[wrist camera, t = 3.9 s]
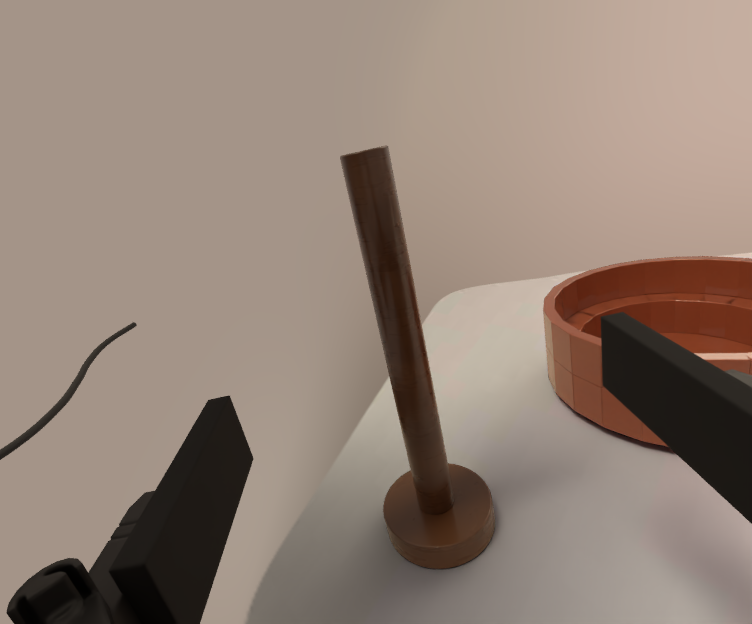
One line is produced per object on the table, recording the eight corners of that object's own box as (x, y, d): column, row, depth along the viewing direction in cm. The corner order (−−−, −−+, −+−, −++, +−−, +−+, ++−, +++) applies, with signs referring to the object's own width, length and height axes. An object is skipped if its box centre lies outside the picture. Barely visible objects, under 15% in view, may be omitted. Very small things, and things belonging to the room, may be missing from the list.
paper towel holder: (372, 510, 26) (278, 169, 19) (456, 468, 28) (397, 143, 21) (419, 591, 21) (312, 162, 14) (518, 532, 23) (468, 127, 16)
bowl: (503, 376, 37) (494, 306, 35) (650, 311, 42) (650, 246, 40) (736, 513, 21) (747, 400, 19) (922, 381, 27) (949, 281, 24)
